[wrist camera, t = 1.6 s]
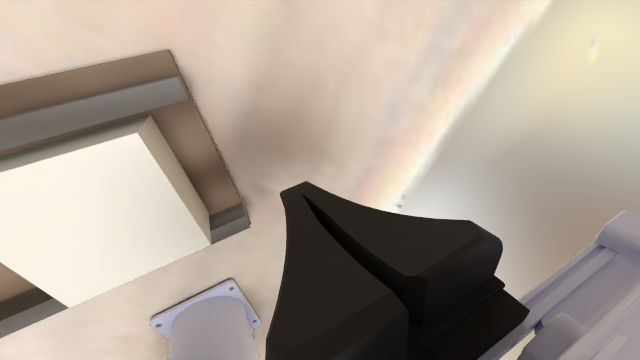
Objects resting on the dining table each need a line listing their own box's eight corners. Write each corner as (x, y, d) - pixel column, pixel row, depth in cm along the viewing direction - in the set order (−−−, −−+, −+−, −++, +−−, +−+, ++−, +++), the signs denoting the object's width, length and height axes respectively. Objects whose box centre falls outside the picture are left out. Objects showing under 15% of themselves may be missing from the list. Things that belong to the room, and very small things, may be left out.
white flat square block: (208, 211, 19) (211, 244, 15) (88, 260, 16) (62, 310, 13) (150, 114, 14) (137, 132, 11) (-25, 162, 12) (-105, 203, 9)
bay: (249, 217, 22) (261, 254, 18) (-102, 369, 15) (-206, 480, 11) (168, 50, 14) (158, 49, 10) (-600, 213, 8) (-1448, 386, 4)
